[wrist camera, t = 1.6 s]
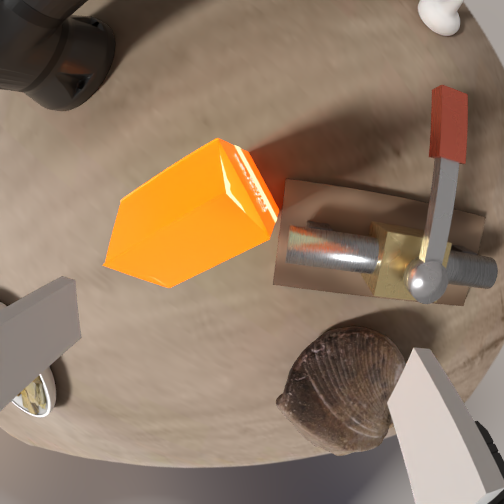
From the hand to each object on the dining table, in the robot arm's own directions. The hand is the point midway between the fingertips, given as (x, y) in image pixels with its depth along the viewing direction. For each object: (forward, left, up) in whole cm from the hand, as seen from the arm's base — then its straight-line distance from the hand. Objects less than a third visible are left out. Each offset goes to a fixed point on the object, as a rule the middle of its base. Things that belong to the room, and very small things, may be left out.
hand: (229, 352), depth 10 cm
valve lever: (-7, +14, -15) cm, 21 cm away
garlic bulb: (-31, +19, -26) cm, 45 cm away
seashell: (+20, +12, -26) cm, 34 cm away
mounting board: (+1, +14, -26) cm, 29 cm away
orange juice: (-2, -5, -26) cm, 26 cm away
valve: (0, +14, -24) cm, 28 cm away
